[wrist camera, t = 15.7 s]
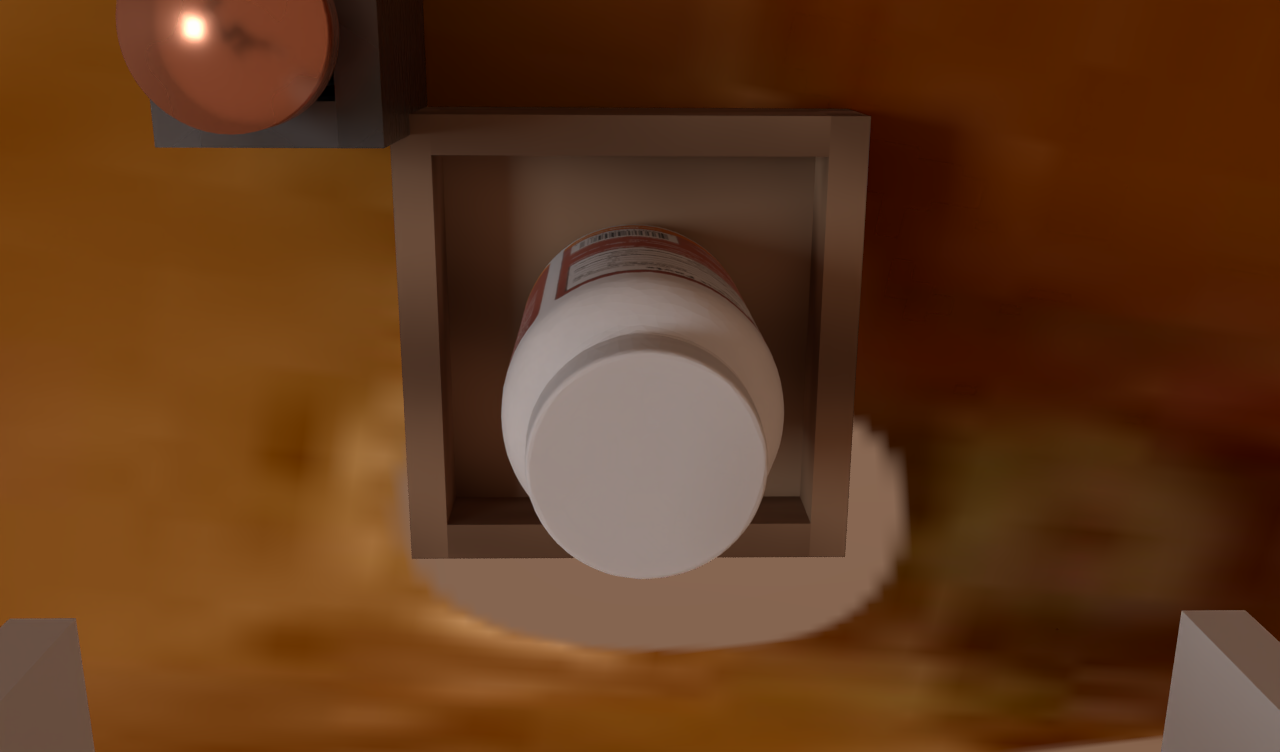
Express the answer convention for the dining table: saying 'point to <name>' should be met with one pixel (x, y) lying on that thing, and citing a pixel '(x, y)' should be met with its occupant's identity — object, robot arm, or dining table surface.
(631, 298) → the pill bottle
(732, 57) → the dining table surface
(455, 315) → the tray
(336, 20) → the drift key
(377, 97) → the socket
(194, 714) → the dining table surface
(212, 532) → the dining table surface
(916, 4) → the dining table surface
